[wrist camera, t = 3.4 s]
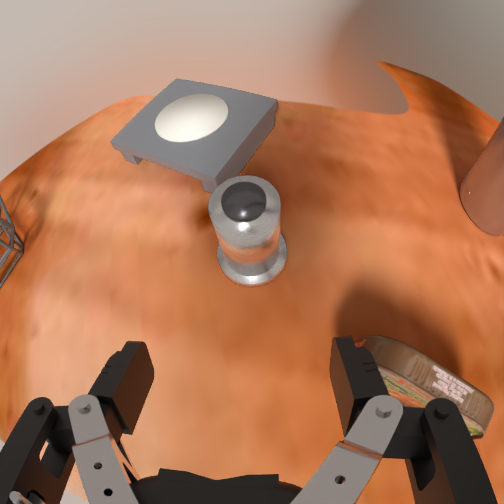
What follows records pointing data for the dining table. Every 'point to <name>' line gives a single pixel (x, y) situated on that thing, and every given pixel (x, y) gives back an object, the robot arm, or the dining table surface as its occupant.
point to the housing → (248, 230)
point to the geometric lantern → (11, 236)
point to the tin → (427, 381)
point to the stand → (199, 130)
